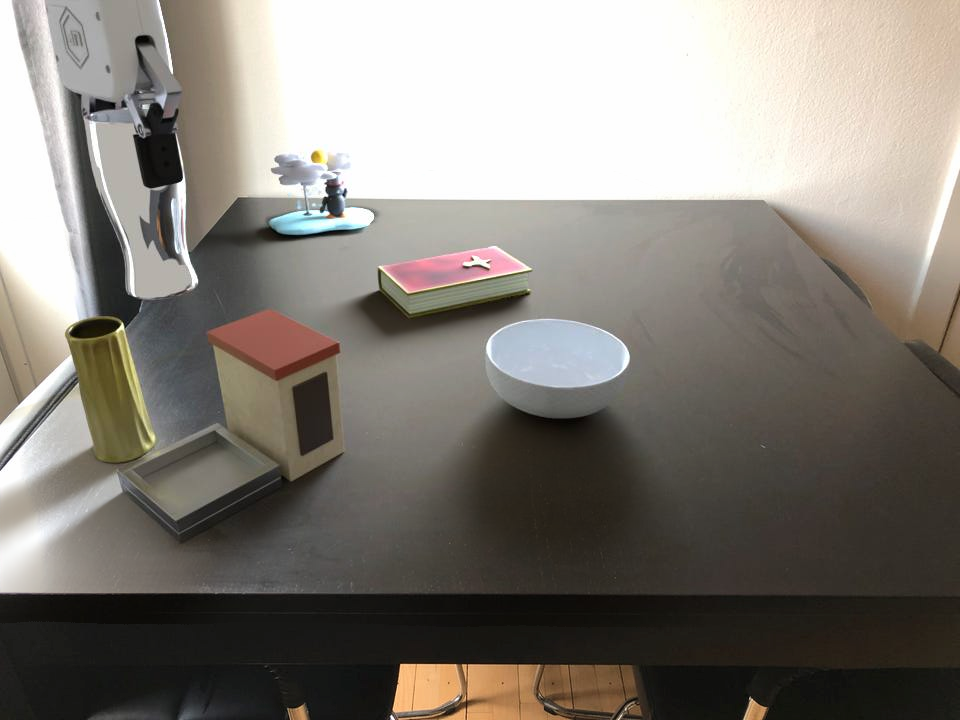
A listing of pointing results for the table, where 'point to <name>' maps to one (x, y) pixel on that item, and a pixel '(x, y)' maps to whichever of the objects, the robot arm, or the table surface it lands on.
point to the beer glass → (140, 210)
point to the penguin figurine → (309, 175)
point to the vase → (110, 389)
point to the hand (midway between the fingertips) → (139, 174)
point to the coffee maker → (247, 427)
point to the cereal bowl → (556, 367)
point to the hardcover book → (453, 281)
